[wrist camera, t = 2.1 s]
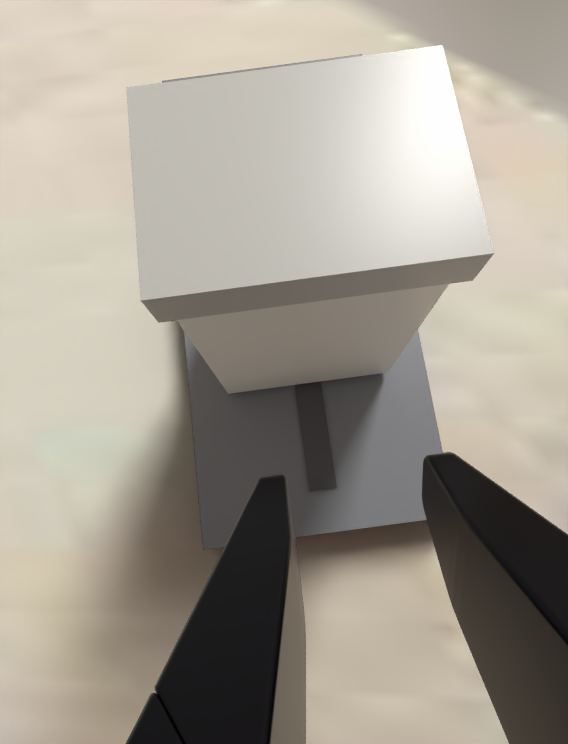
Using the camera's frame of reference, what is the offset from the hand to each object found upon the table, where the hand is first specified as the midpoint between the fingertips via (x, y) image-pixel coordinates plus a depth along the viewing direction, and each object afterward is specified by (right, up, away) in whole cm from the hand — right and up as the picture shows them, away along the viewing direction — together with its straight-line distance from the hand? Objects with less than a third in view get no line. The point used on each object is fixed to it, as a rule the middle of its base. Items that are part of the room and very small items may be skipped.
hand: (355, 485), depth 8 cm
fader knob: (0, +3, +12) cm, 12 cm away
